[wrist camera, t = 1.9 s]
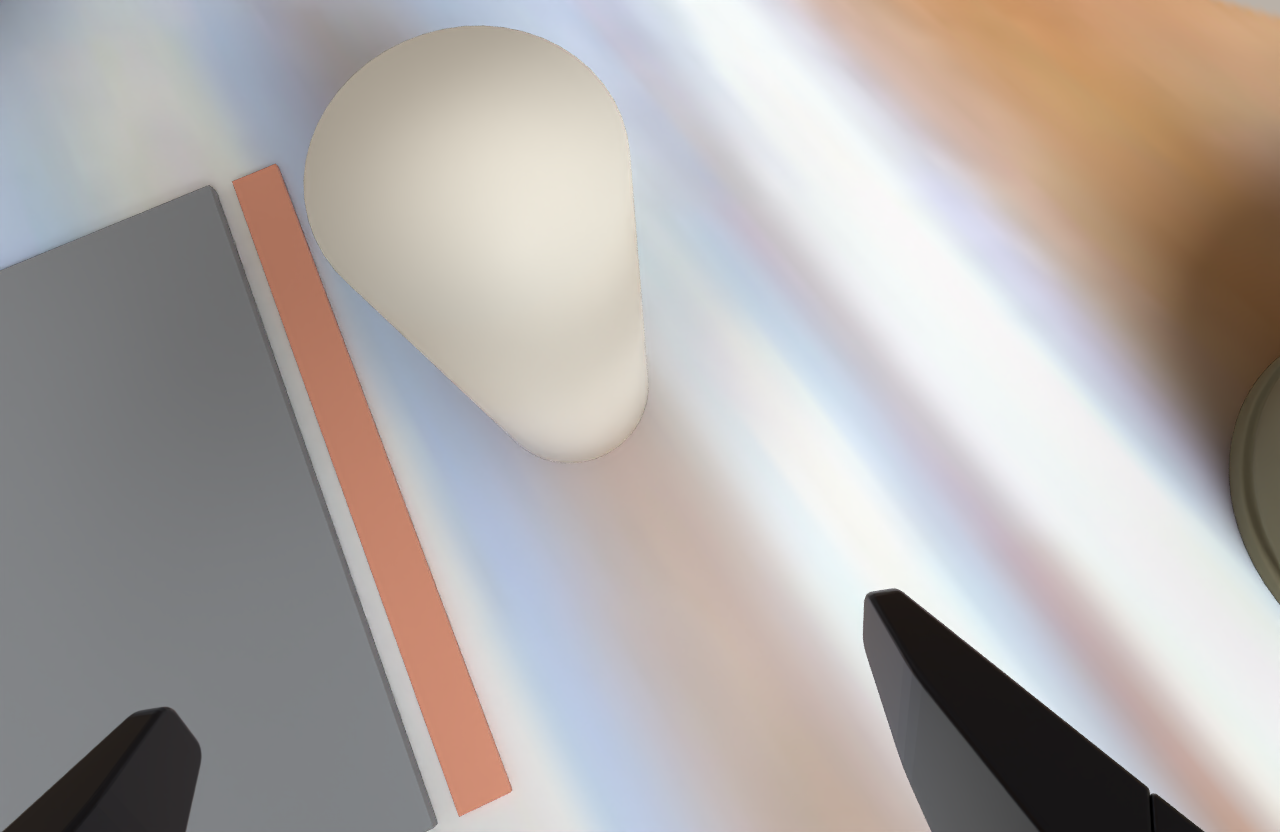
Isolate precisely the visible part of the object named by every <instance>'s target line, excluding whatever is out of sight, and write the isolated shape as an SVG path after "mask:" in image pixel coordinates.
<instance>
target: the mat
mask: <svg viewBox="0 0 1280 832" xmlns="http://www.w3.org/2000/svg"><path fill="white" fill-rule="evenodd" d="M158 707H170V708H172V709H174V710H175V711H176V712H177V714H178V715H179V716H180V718H181V719H182V720H183V722H184V723H185V724H186V726H187V727H188V728H189V730H190V731H191V732H192V734H193V735H194V736H195V738H196V739H197V740H198V742H199V744H200V747H201V753H202V759H201V766H200V771H199V775H198V780H197V784H196V789H195V793H194V798H193V802H192V807H191V812H190V816H189V821H188V825H187V830H186V832H426V831H428V830H430V829H432V828H434V827H435V826H436V825H437V824H438V823H437V820H436V817H435V814H434V811H433V808H432V806H431V803H430V800H429V797H428V794H427V791H426V789H425V786H424V783H423V780H422V777H421V774H420V771H419V769H418V766H417V763H416V760H415V757H414V754H413V751H412V749H411V746H410V743H409V740H408V737H407V734H406V731H405V729H404V726H403V723H402V720H401V717H400V714H399V712H398V709H397V706H396V703H395V700H394V697H393V694H392V692H391V689H390V686H389V683H388V680H387V677H386V674H385V672H384V669H383V666H382V663H381V660H380V657H379V654H378V652H377V649H376V646H375V643H374V640H373V637H372V634H371V632H370V629H369V626H368V623H367V620H366V617H365V615H364V612H363V609H362V606H361V603H360V600H359V597H358V595H357V592H356V589H355V586H354V583H353V580H352V577H351V575H350V572H349V569H348V566H347V563H346V560H345V557H344V555H343V552H342V549H341V546H340V543H339V540H338V537H337V535H336V532H335V529H334V526H333V523H332V520H331V518H330V515H329V512H328V509H327V506H326V503H325V500H324V498H323V495H322V492H321V489H320V486H319V483H318V480H317V478H316V475H315V472H314V469H313V466H312V463H311V460H310V458H309V455H308V452H307V449H306V446H305V443H304V440H303V438H302V435H301V432H300V429H299V426H298V423H297V421H296V418H295V415H294V412H293V409H292V406H291V403H290V401H289V398H288V395H287V392H286V389H285V386H284V383H283V381H282V378H281V375H280V372H279V369H278V366H277V363H276V361H275V358H274V355H273V352H272V349H271V346H270V344H269V341H268V338H267V335H266V332H265V329H264V326H263V324H262V321H261V318H260V315H259V312H258V309H257V306H256V304H255V301H254V298H253V295H252V292H251V289H250V286H249V284H248V281H247V278H246V275H245V272H244V269H243V266H242V264H241V261H240V258H239V255H238V252H237V249H236V247H235V244H234V241H233V238H232V235H231V232H230V229H229V227H228V224H227V221H226V218H225V215H224V212H223V209H222V207H221V204H220V201H219V198H218V195H217V192H216V191H215V190H214V189H213V188H212V187H211V186H210V185H208V186H206V187H203V188H201V189H198V190H196V191H194V192H191V193H189V194H186V195H184V196H181V197H179V198H176V199H174V200H172V201H169V202H167V203H164V204H162V205H159V206H157V207H154V208H152V209H150V210H147V211H145V212H142V213H140V214H137V215H135V216H132V217H130V218H128V219H125V220H123V221H120V222H118V223H115V224H113V225H111V226H108V227H106V228H103V229H101V230H98V231H96V232H93V233H91V234H89V235H86V236H84V237H81V238H79V239H76V240H74V241H71V242H69V243H67V244H64V245H62V246H59V247H57V248H54V249H52V250H49V251H47V252H45V253H42V254H40V255H37V256H35V257H32V258H30V259H27V260H25V261H23V262H20V263H18V264H15V265H13V266H10V267H8V268H6V269H3V270H1V271H0V832H2V831H3V830H4V829H6V828H7V827H8V826H9V825H10V824H11V823H12V822H13V821H14V820H15V819H16V818H18V817H19V816H20V815H21V814H22V813H23V812H24V811H25V810H26V809H27V808H29V807H30V806H31V805H32V804H33V803H34V802H35V801H36V800H37V799H38V798H39V797H41V796H42V795H43V794H44V793H45V792H46V791H47V790H48V789H49V788H50V787H52V786H53V785H54V784H55V783H56V782H57V781H58V780H59V779H60V778H61V777H63V776H64V775H65V774H66V773H67V772H68V771H69V770H70V769H71V768H72V767H73V766H75V765H76V764H77V763H78V762H79V761H80V760H81V759H82V758H83V757H84V756H86V755H87V754H88V753H89V752H90V751H91V750H92V749H93V748H94V747H95V746H97V745H98V744H99V743H100V742H101V741H102V740H103V739H104V738H105V737H106V736H107V735H109V734H110V733H111V732H112V731H113V730H114V729H115V728H116V727H117V726H118V725H120V724H121V723H122V722H123V721H124V720H125V719H126V718H127V717H129V716H130V715H131V714H133V713H135V712H137V711H140V710H145V709H151V708H158Z"/></svg>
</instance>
